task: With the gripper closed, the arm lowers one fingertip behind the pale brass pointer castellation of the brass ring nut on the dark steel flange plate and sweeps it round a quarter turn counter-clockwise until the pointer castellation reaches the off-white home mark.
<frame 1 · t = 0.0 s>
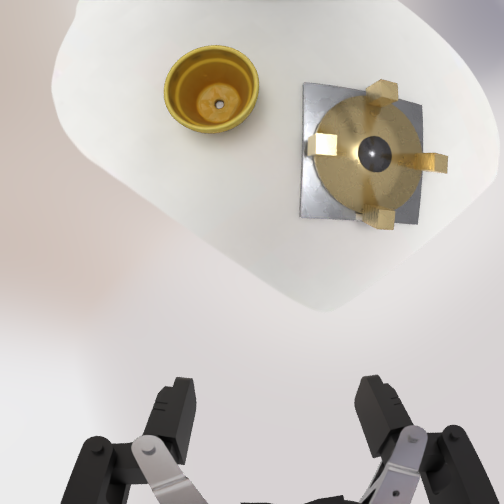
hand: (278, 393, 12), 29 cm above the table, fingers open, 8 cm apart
plant pot: (220, 105, 34), on the table
flange plate: (366, 154, 36), on the table
ring nut: (379, 153, 32), point 5 cm above the table, hinge at 0.0°
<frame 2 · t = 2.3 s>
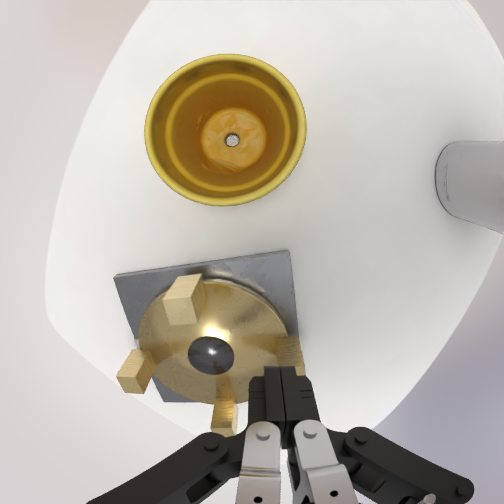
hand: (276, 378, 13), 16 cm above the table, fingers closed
plant pot: (234, 140, 25), on the table
flange plate: (214, 340, 31), on the table
ring nut: (209, 364, 27), point 5 cm above the table, hinge at 0.0°
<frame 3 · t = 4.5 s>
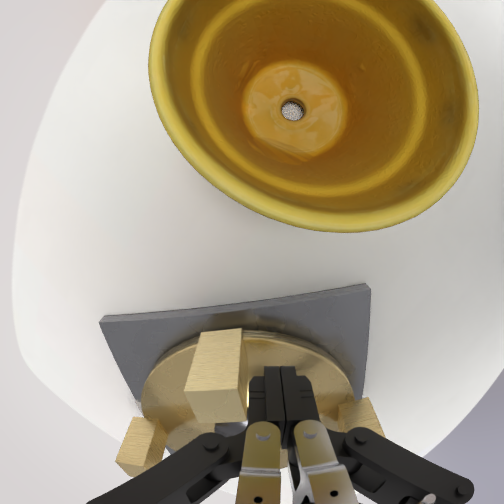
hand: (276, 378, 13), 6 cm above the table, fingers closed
plant pot: (292, 113, 15), on the table
flange plate: (248, 402, 21), on the table
ring nut: (247, 443, 17), point 5 cm above the table, hinge at 0.0°, touching gripper
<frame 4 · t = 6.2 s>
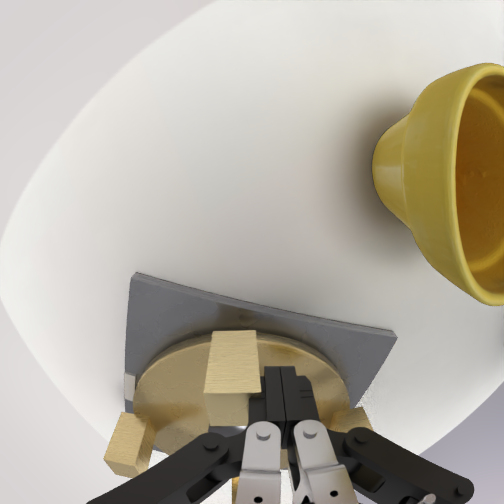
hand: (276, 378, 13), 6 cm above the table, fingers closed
plant pot: (409, 172, 16), on the table
flange plate: (241, 404, 21), on the table
ring nut: (241, 446, 16), point 5 cm above the table, hinge at 17.1°, touching gripper
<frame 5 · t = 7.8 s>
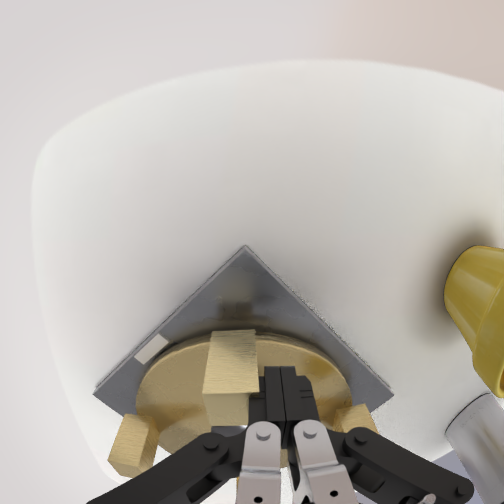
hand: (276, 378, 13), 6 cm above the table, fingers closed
plant pot: (466, 281, 19), on the table
flange plate: (243, 403, 21), on the table
ring nut: (244, 445, 16), point 5 cm above the table, hinge at 49.1°, touching gripper
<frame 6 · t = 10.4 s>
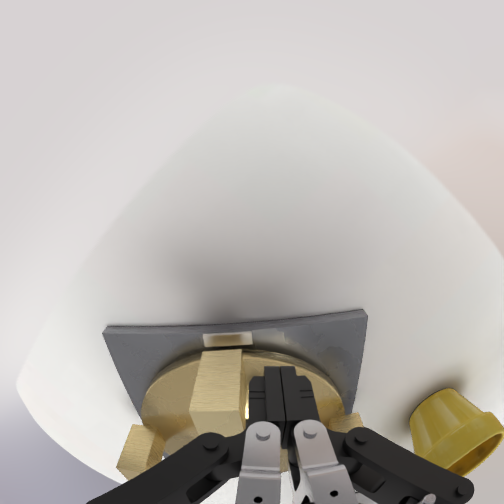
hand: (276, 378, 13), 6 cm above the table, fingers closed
plant pot: (431, 407, 23), on the table
flange plate: (243, 412, 22), on the table
ring nut: (242, 452, 17), point 5 cm above the table, hinge at 91.3°
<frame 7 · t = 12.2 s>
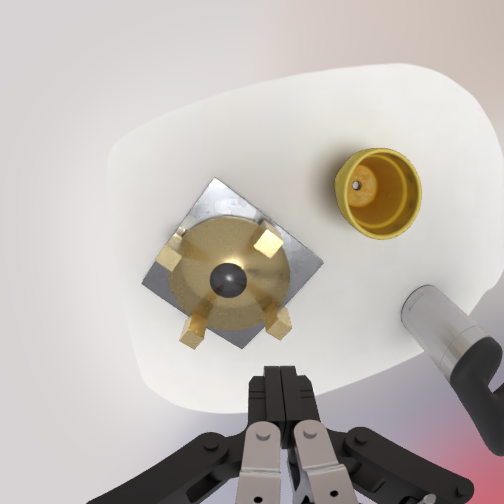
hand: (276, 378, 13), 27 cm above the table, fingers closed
plant pot: (354, 185, 37), on the table
flange plate: (229, 271, 40), on the table
ring nut: (227, 285, 36), point 5 cm above the table, hinge at 91.3°
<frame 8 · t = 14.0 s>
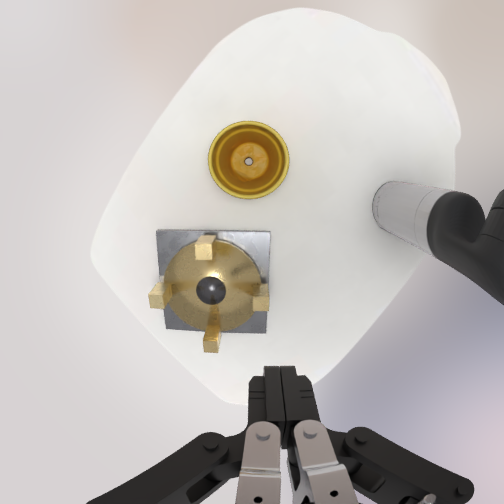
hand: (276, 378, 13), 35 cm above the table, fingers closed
plant pot: (249, 161, 43), on the table
flange plate: (213, 283, 49), on the table
ring nut: (209, 294, 45), point 5 cm above the table, hinge at 91.3°
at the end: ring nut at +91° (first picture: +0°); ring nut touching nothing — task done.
